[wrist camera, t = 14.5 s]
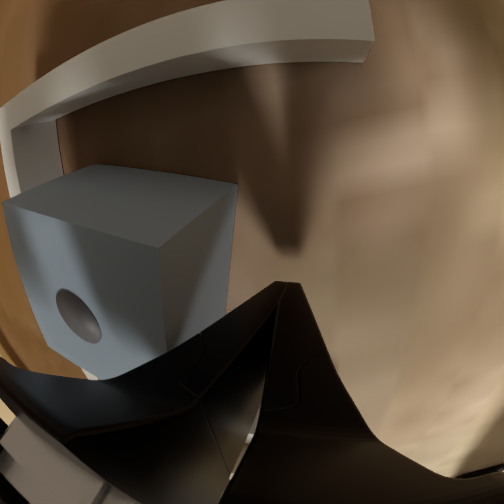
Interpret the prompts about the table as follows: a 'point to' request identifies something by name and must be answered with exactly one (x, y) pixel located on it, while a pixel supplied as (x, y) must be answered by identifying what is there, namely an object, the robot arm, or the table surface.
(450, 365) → the table surface
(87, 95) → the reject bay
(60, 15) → the table surface
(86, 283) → the block
